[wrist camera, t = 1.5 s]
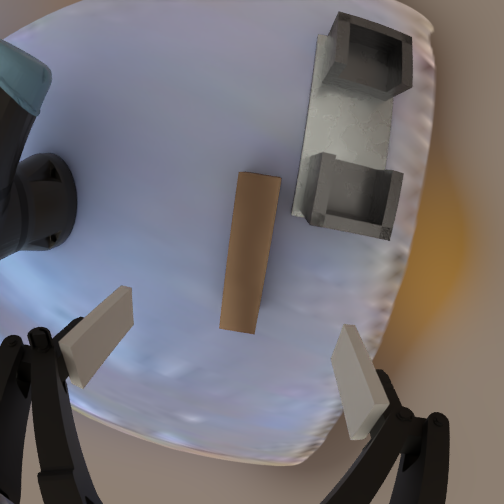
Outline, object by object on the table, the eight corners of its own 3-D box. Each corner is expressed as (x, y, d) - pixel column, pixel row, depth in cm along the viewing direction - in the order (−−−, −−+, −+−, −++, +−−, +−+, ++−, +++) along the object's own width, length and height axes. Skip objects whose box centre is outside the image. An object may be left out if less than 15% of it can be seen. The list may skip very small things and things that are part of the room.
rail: (226, 303, 36) (219, 328, 30) (244, 171, 30) (238, 171, 25) (257, 308, 35) (254, 334, 30) (279, 176, 30) (281, 178, 25)
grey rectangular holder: (291, 214, 31) (297, 228, 24) (317, 37, 24) (328, 5, 17) (369, 229, 31) (396, 247, 23) (391, 59, 24) (419, 37, 17)
